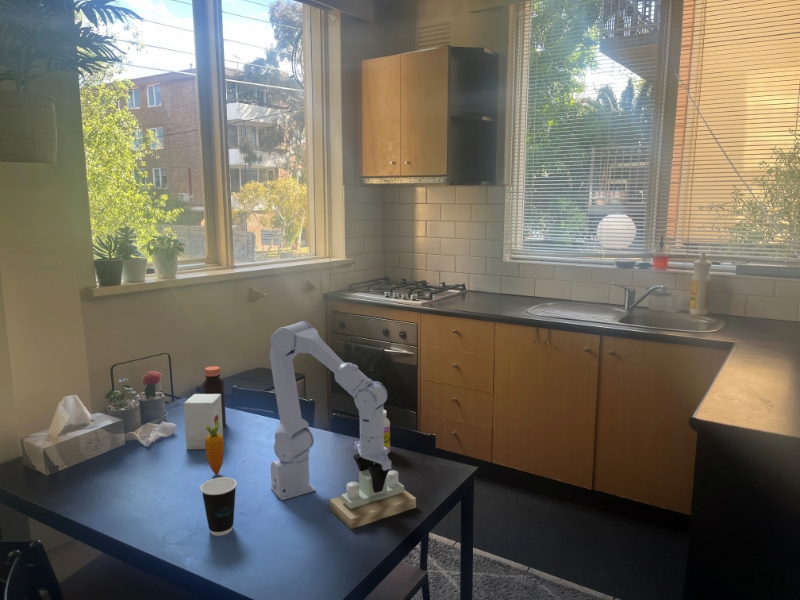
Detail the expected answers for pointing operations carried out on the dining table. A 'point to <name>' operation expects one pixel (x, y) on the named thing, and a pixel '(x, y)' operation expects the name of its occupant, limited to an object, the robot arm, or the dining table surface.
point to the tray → (370, 489)
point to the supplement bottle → (386, 432)
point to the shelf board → (372, 509)
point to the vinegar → (215, 386)
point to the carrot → (214, 448)
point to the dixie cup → (219, 504)
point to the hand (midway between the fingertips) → (372, 486)
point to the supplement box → (201, 418)
